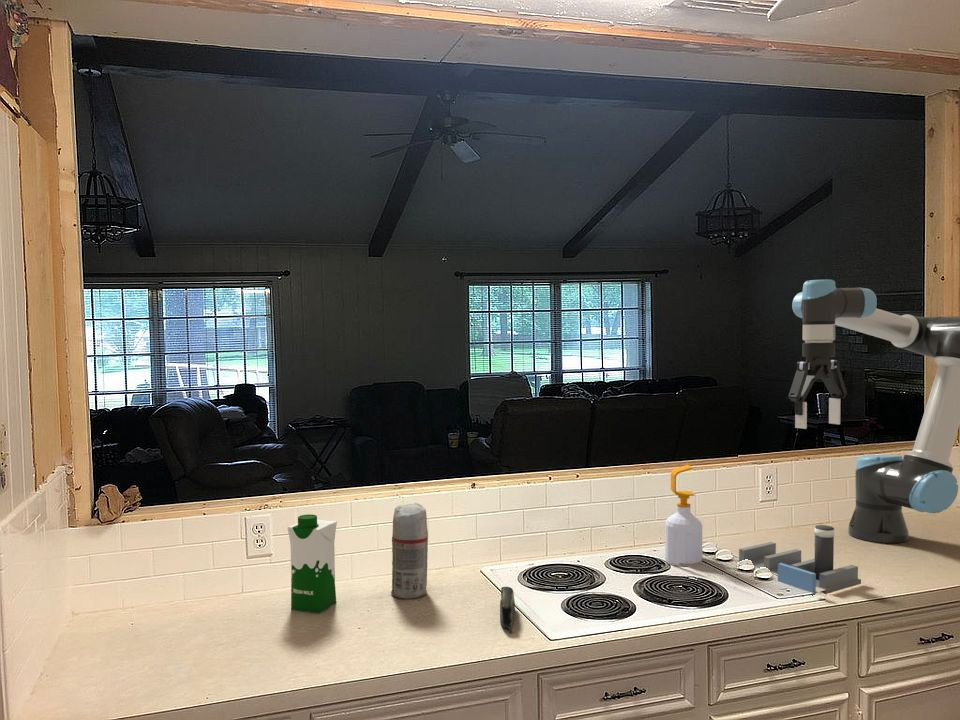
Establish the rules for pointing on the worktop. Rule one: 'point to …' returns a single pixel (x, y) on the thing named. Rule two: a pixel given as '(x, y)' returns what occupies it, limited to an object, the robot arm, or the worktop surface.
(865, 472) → the robot arm
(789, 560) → the grey slotted rack
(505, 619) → the mobile phone
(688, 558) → the soap bottle
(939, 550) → the worktop surface
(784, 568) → the blue rectangular block
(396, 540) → the spray can
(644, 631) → the worktop surface
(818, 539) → the grey banded cylinder
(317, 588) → the milk carton
